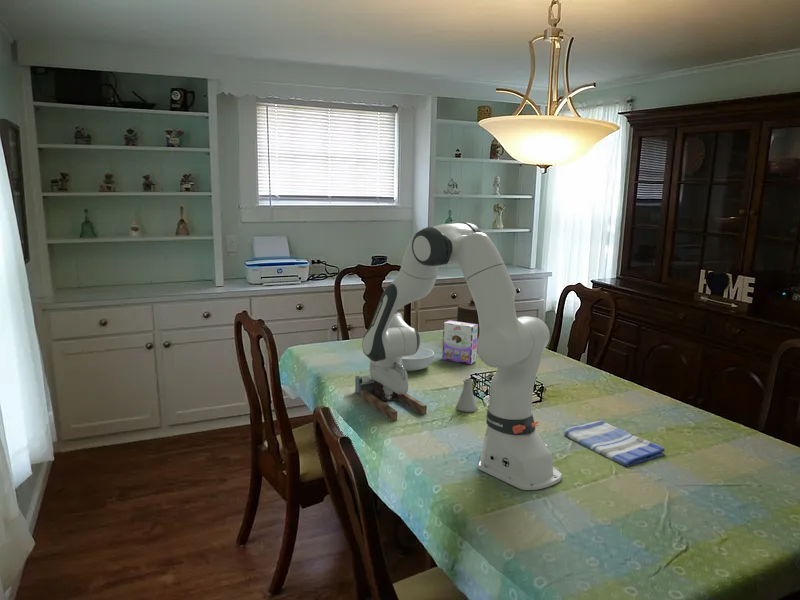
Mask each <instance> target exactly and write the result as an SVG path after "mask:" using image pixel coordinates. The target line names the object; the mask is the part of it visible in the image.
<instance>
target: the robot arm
mask: <svg viewBox="0 0 800 600" xmlns="http://www.w3.org/2000/svg"><path fill="white" fill-rule="evenodd" d="M448 264H449V265H451V264H456V265H458V267H459V268H460V270H461V272H462V275H463V277H464V279H465V281H466V282H465V283H466V285H467V288H468V290H469V292H470V294H471V297H472V298H473V300H474V302H475V305H476V308H477V312H478V318H479V328H480V333H479V338H478V340H477V355H478V358H479V359H480V360H481V362H482V363H484V364H485V365H486V366H487V367H490V368H496V370H495V373H494V375H493V377H492V378H491V380H490V386H489V387H490V388H489V404H488V408H487V411H486V416H485V417H486V425H487V427H486V431H485V433H484V437H483V442H482V450H481V454H480V456H479V462H478V464H477V468H478V470H480V471H482V472H484V473H486V474H488V475H491V476H492V477H494V478H497V479H499V480H501V481H503V482H504V483H507V484H509V485H511V486H512V487H515V488H516V489H519V490H522V491H535V490H536V491H537V490H541V489H545V488H548V487H552V486H553V485H556V484H558V483H560V482H561V481H562V479H563V474H562V473H561V472H560V471H559V470H558V469H556V468H555V467H554V458H553V453H552V452H551V450H550V448H549V445H548V444H546V443H545V442H544V440H542V438H541V437H540V435H539V433H538V432H537V431H536V427H538V426H539V425H538V424H539V421H535V419H534V415H533V411H532V410H533V408H532V407H533V396H534V386H535V383H536V377H537V374H538V372H539V367H540V364H541V361H542V356H543V353H544V351H545V349H546V348H547V346H548V344H549V341H550V337H551V336H550V329H549V327H548V325H547V324H546V322H544V321H543V320H542V319H540V318H539V317H534V316H529V315H528V316H526V315H525V316H517V312H516V305H515V303H516V302H515V299H516V296H517V290H516V287H515V285H514V283H513V280H512V278H511V276H510V273H509V271H508V269H507V266H506V264H505V262H504V260H503V257H502V256H501V254H500V251H499V250H498V249H497V247H496V245H495V243H494V242H493V240H491V237H489V235H488V234H487V233H484V232H482V231H481V230H480V228H479V227H478V226H477V225H476V224H473V223H469V222H459V223H454V222H453V223H442V224H441V223H440V224H438V225H437V224H436V225H433V226H428V227H424V228H422V229H420V230H419V231H417V232H416V233H415V234H414V236H412V237H411V238H410V239H409V242H408V244H407V246H406V249H405V252H404V255H403V258H402V261H401V266H400V269H399V271H398V273H397V275H396V277H395V278H394V279H393V281H392V282H391V283H390V284H389V285H387V286H386V287H385V288H384V291H383V293H382V294H381V297H380V300H379V302H378V304H377V307H376V310H375V312H374V314H373V317H372V320H371V322H370V325H369V327H368V328H367V331H366V332H365V334H364V335H363V338H362V342H361V343H362V345H361V347H362V352H363V354H364V355H365V356H366V358H368V359H369V360H370V361H369V375H370V376H371V378H372V379H373V380H375V381H377V382H379V383H381V384H382V385H383V389H384V392H385V398H386V399H388V400H389V399H391V398H392V393H393V391H394V392H395V393H397V394H404V393H407V394H408V391H409V377H408V376H409V375H408V373H407V372H408V371H405V370H404V367H403V366H402V357H404V356H410V355H414V354H415V353H416V352H417V350H418V348H419V347H420V343H421V339H420V334H419V332H418V330H416V329H415V328H414V327H412V326H410V325H409V324H407V323H406V322H405V320H404V318H403V315H402V313H401V312H398V311H399V310H400V309H401V308H402V307H404V306H406V305H409V304H410V303H413V302H416V301H419V300H422V299H424V298H425V297H427V296H429V294H430V293H431V292H432V290H433V288H434V287H435V284H436V282H437V279H438V273H439V269H440V266H444V265H448Z"/></svg>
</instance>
